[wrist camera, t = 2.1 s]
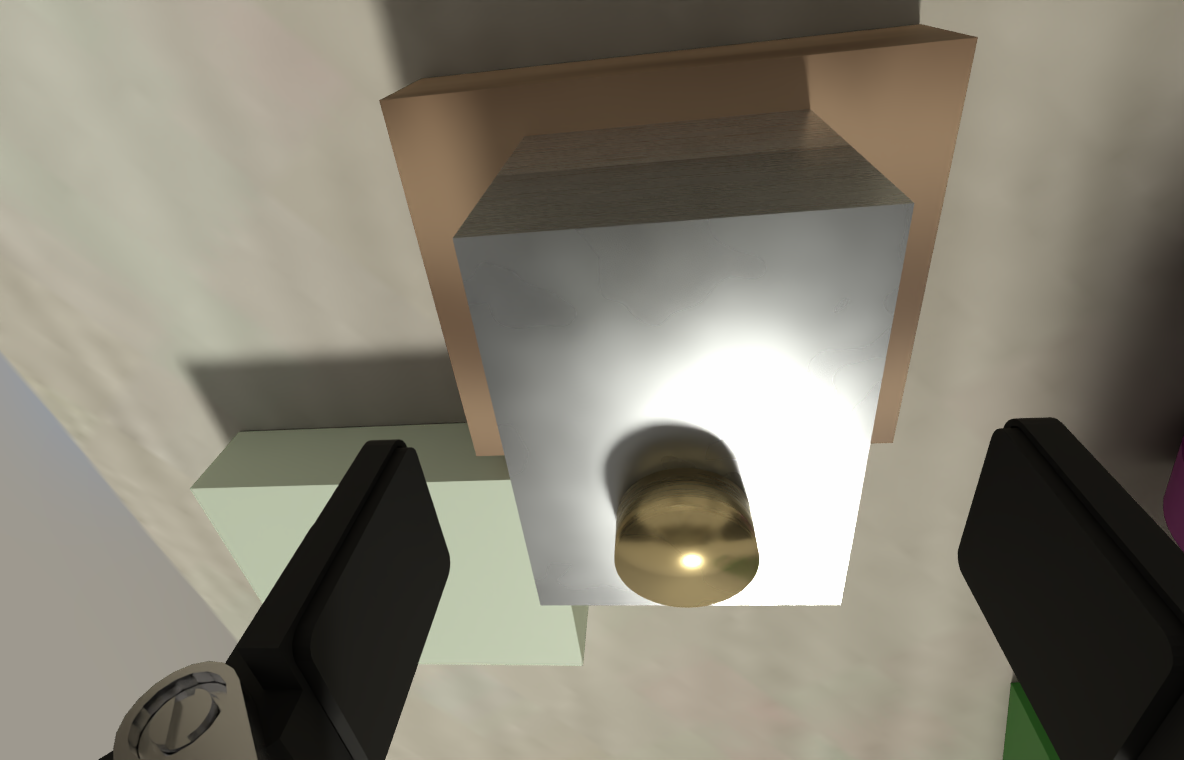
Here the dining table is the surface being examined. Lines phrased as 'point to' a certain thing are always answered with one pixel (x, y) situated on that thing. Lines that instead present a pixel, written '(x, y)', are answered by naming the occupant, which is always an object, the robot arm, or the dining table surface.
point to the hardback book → (1025, 730)
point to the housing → (686, 353)
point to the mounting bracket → (1176, 499)
